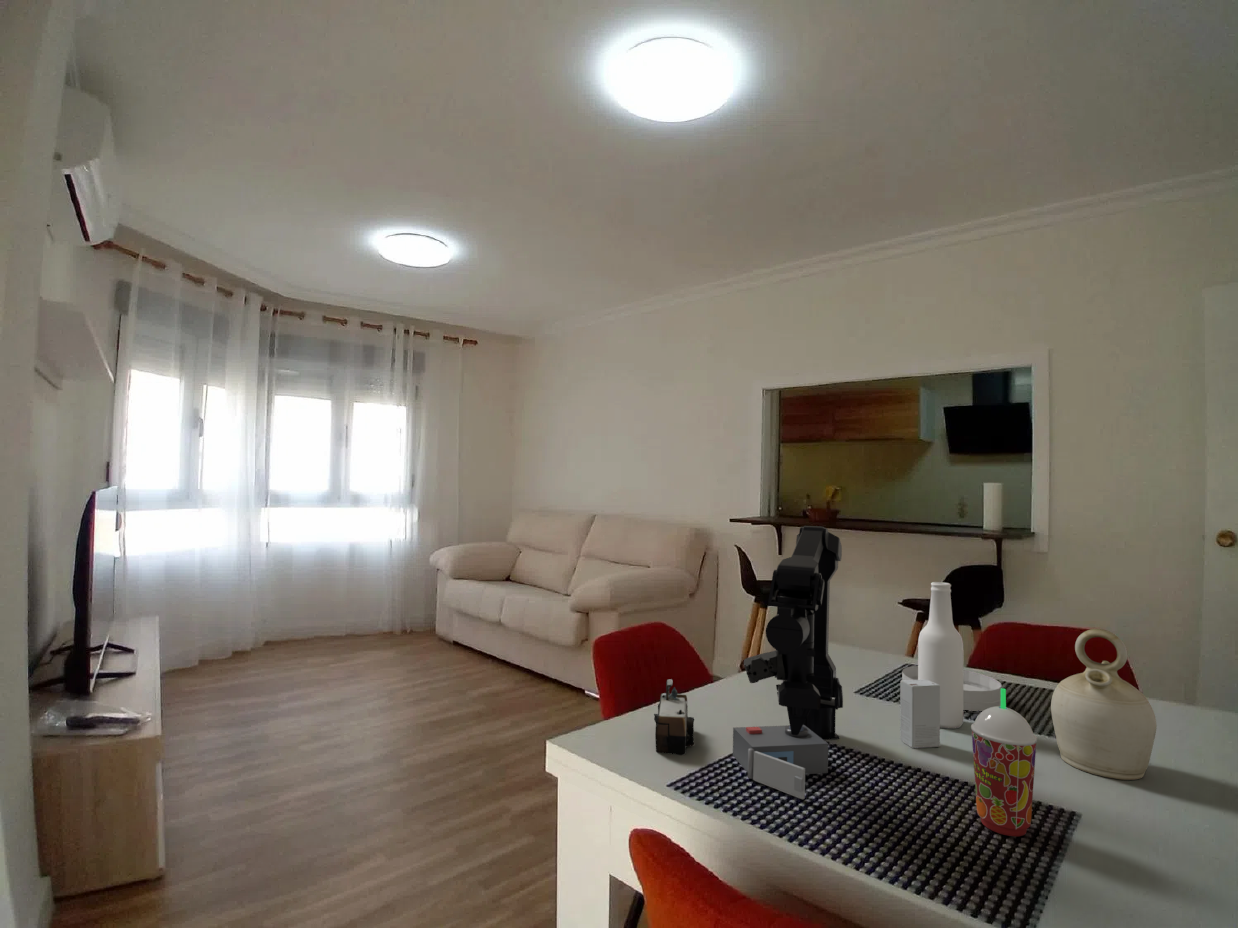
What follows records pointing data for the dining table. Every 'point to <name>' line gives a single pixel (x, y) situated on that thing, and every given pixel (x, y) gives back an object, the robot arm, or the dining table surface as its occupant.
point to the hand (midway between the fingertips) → (794, 734)
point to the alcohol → (943, 656)
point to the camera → (673, 723)
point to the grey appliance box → (782, 746)
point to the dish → (970, 689)
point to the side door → (776, 773)
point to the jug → (1103, 717)
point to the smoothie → (1004, 769)
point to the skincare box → (920, 713)
